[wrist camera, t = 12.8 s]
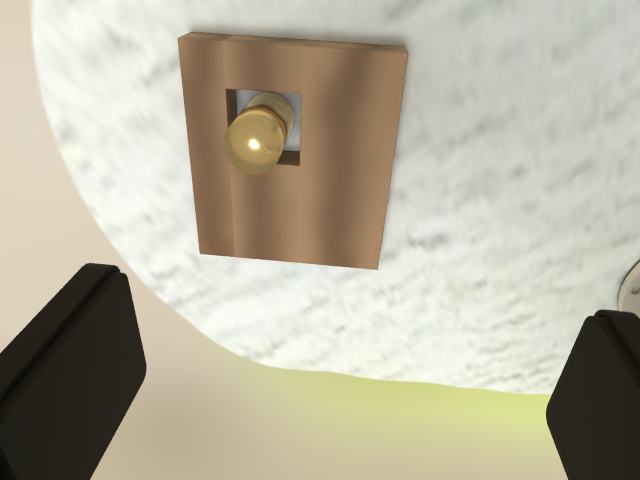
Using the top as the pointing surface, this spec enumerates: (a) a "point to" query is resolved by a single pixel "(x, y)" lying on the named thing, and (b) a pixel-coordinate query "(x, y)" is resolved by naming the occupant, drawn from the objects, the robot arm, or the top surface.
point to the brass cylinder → (259, 134)
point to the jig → (295, 167)
